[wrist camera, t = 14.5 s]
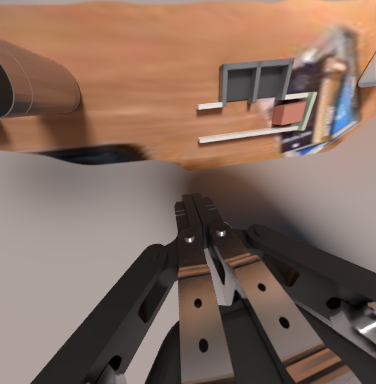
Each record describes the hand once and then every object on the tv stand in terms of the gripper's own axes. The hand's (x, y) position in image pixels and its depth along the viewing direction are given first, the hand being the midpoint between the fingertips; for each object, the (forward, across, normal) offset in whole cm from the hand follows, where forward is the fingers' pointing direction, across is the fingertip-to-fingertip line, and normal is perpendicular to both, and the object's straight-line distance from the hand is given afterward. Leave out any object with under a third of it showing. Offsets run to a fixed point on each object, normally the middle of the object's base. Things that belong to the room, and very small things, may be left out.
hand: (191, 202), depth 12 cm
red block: (+32, -34, -2) cm, 47 cm away
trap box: (+32, -23, -5) cm, 40 cm away
